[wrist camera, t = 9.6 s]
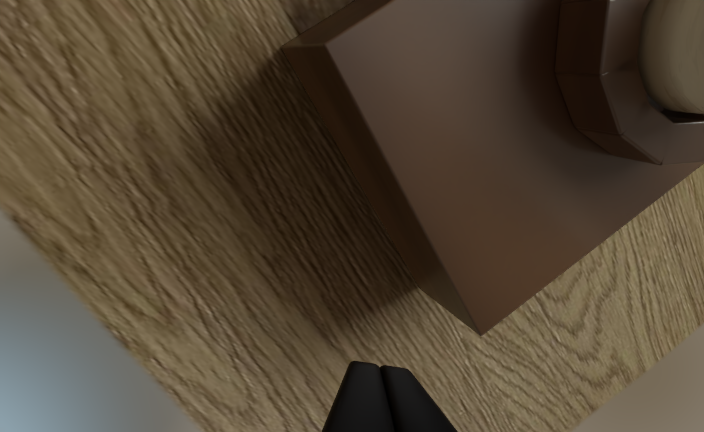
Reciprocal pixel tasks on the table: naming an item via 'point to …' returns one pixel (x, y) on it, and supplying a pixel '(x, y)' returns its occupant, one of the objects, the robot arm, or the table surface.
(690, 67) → the lamp switch
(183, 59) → the table surface
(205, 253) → the table surface
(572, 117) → the switch block
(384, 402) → the robot arm
